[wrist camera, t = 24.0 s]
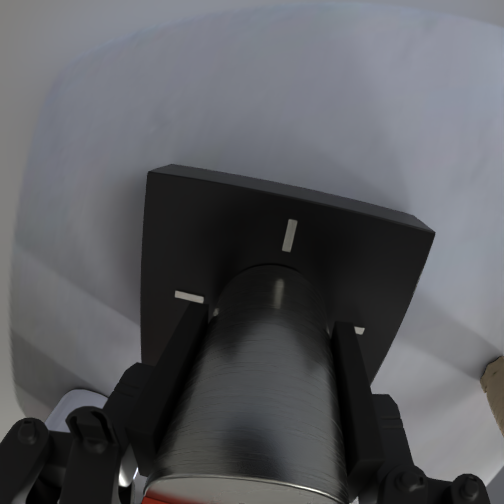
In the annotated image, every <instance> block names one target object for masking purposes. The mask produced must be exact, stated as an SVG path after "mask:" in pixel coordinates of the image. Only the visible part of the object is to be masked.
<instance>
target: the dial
mask: <svg viewBox="0 0 504 504" xmlns="http://www.w3.org/2000/svg"><path fill="white" fill-rule="evenodd" d="M143 494H144V497H143V500H142V503H141V504H349V493H348V480H347V469H346V458H345V448H344V439H343V430H342V421H341V413H340V405H339V397H338V390H337V382H336V375H335V368H334V361H333V355H332V348H331V342H330V335H329V329H328V323H327V317H326V311H325V306H324V301H323V298H322V296H321V294H320V292H319V290H318V288H317V287H316V286H315V285H314V283H313V282H312V281H311V280H310V279H308V278H307V277H306V276H304V275H303V274H301V273H300V272H298V271H296V270H293V269H290V268H287V267H283V266H278V265H262V266H256V267H253V268H249V269H247V270H245V271H242V272H241V273H239V274H237V275H236V276H235V277H233V278H232V279H231V280H230V281H229V282H228V283H227V284H226V286H225V287H224V289H223V291H222V293H221V295H220V297H219V300H218V302H217V305H216V307H215V309H214V312H213V314H212V317H211V319H210V322H209V324H208V327H207V329H206V332H205V334H204V337H203V339H202V341H201V344H200V346H199V349H198V351H197V354H196V356H195V359H194V361H193V364H192V366H191V369H190V371H189V374H188V376H187V379H186V381H185V384H184V386H183V389H182V391H181V394H180V396H179V399H178V401H177V404H176V407H175V409H174V412H173V414H172V417H171V419H170V422H169V424H168V427H167V429H166V432H165V434H164V437H163V440H162V442H161V445H160V447H159V450H158V452H157V455H156V458H155V460H154V463H153V465H152V468H151V470H150V473H149V476H148V478H147V481H146V483H145V486H144V490H143Z"/></svg>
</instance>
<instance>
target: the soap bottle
mask: <svg viewBox="0 0 504 504" xmlns="http://www.w3.org/2000/svg"><path fill="white" fill-rule="evenodd" d="M107 400H108V398H106V397H105V396H103V395H101V394H98V393H95V392H91V391H88V390H85V389H74V390H71V391H70V392H68V393H66V394H65V395H64V396H63V397H62V399H61V400H60V402H59V403H58V404H57V406H56V407H55V408H54V410H53V411H52V413H51V414H50V415H49V417H48V418H47V420H46V421H45V425H46V427H47V428H48V430H52V431H60V432H70V430H69V428H68V426H67V424H66V422H65V419H66V418H67V416H68V414H69V413H70V412H72V411H73V410H74V409H76V408H79V407H82V406H95V407H98V408H101V409H102V408H103V407H104V405H105V403H106V402H107ZM137 471H138V468H137V470H136V472H135V475H134V477H133V479H134V478H135V476H136V473H137Z"/></svg>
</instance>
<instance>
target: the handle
mask: <svg viewBox="0 0 504 504" xmlns="http://www.w3.org/2000/svg"><path fill="white" fill-rule="evenodd" d="M480 383H481V386H482V389H483V391H484V393H486V392H487V399H488V402H489V405H490V408H491V410H492V413H493V415H494V417H495V420H496V422H497V424H498V426H499V428H500V430H501V432H502V435H503V436H504V356H502V357H499V358H498V359H497V360H496V361H494V362H493V363H490V364H488V366H487V367H486V371H485V373H484V375H483V376H482V377H481V380H480Z"/></svg>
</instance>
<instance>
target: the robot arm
mask: <svg viewBox="0 0 504 504" xmlns="http://www.w3.org/2000/svg"><path fill="white" fill-rule="evenodd" d="M208 316H209V304H204V303H198V302H192V301H191V302H190V303H189V305H188V307H187V309H186V311H185V312H184V314H183V316H182V318H181V320H180V322H179V323H178V325H177V327H176V329H175V331H174V333H173V334H172V336H171V338H170V340H169V342H168V344H167V346H166V347H165V349H164V351H163V353H162V355H161V357H160V359H159V360H158V362H157V364H156V366H150V365H146V364H142V363H138V362H137V363H135V364H134V365H132V366H131V367H130V368H128V369H127V370H126V371H125V372H124V374H123V376H122V377H121V379H120V380H119V383H118V384H117V385H116V387H115V388H114V391H113V392H112V393H111V395H110V397H109V398H108V400H107V402H106V403H105V405H104V407H103V408H102V409H101V408H98V407H95V406H82V407H79V408H76V409H74V410H73V411H72V412H70V413H69V414H68V416H67V418H66V419H65V422H66V424H67V426H68V428H69V430H70V432H60V431H52V430H48V428H47V427H46V425H45V423H43V422H42V421H41V420H39V419H36V418H24V419H21V420H19V421H18V422H16V423H15V424H14V425H13V426H12V428H11V429H10V430H9V432H8V433H7V435H6V436H5V437H4V439H3V440H2V442H1V443H0V504H134V492H135V484H134V479H133V477H134V475H135V472H136V470H137V468H138V470H139V473H140V475H142V476H145V477H148V476H149V473H150V470H151V468H152V465H153V463H154V460H155V458H156V455H157V452H158V450H159V447H160V445H161V442H162V440H163V437H164V434H165V432H166V429H167V427H168V424H169V422H170V419H171V417H172V414H173V412H174V409H175V407H176V404H177V401H178V399H179V396H180V394H181V391H182V389H183V386H184V384H185V381H186V379H187V376H188V374H189V371H190V369H191V366H192V364H193V361H194V359H195V356H196V354H197V351H198V349H199V346H200V344H201V341H202V339H203V337H204V334H205V332H206V329H207V327H208ZM330 342H331V348H332V355H333V361H334V368H335V375H336V382H337V390H338V397H339V405H340V413H341V421H342V430H343V439H344V448H345V458H346V469H347V480H348V493H349V503H352V502H353V501H354V500H355V499H356V497H357V496H358V500H359V504H490V500H489V497H488V494H487V491H486V487H485V485H484V483H483V481H482V480H481V479H480V478H479V477H477V476H475V475H473V474H462V475H460V476H458V477H457V478H456V479H455V480H454V481H453V482H450V481H443V480H436V479H432V478H428V477H426V475H425V474H424V472H423V471H422V470H421V469H420V468H418V467H417V466H415V465H414V463H413V460H412V456H411V452H410V448H409V445H408V441H407V437H406V434H405V430H404V428H403V423H402V419H400V417H401V416H400V413H399V409H398V406H397V404H396V403H395V401H394V400H393V399H392V398H391V397H390V395H389V394H372V392H371V388H370V384H369V380H368V376H367V372H366V368H365V364H364V360H363V357H362V353H361V349H360V346H359V342H358V338H357V335H356V331H355V328H354V324H353V323H350V322H340V321H335V324H334V327H333V331H332V335H331V338H330Z"/></svg>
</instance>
